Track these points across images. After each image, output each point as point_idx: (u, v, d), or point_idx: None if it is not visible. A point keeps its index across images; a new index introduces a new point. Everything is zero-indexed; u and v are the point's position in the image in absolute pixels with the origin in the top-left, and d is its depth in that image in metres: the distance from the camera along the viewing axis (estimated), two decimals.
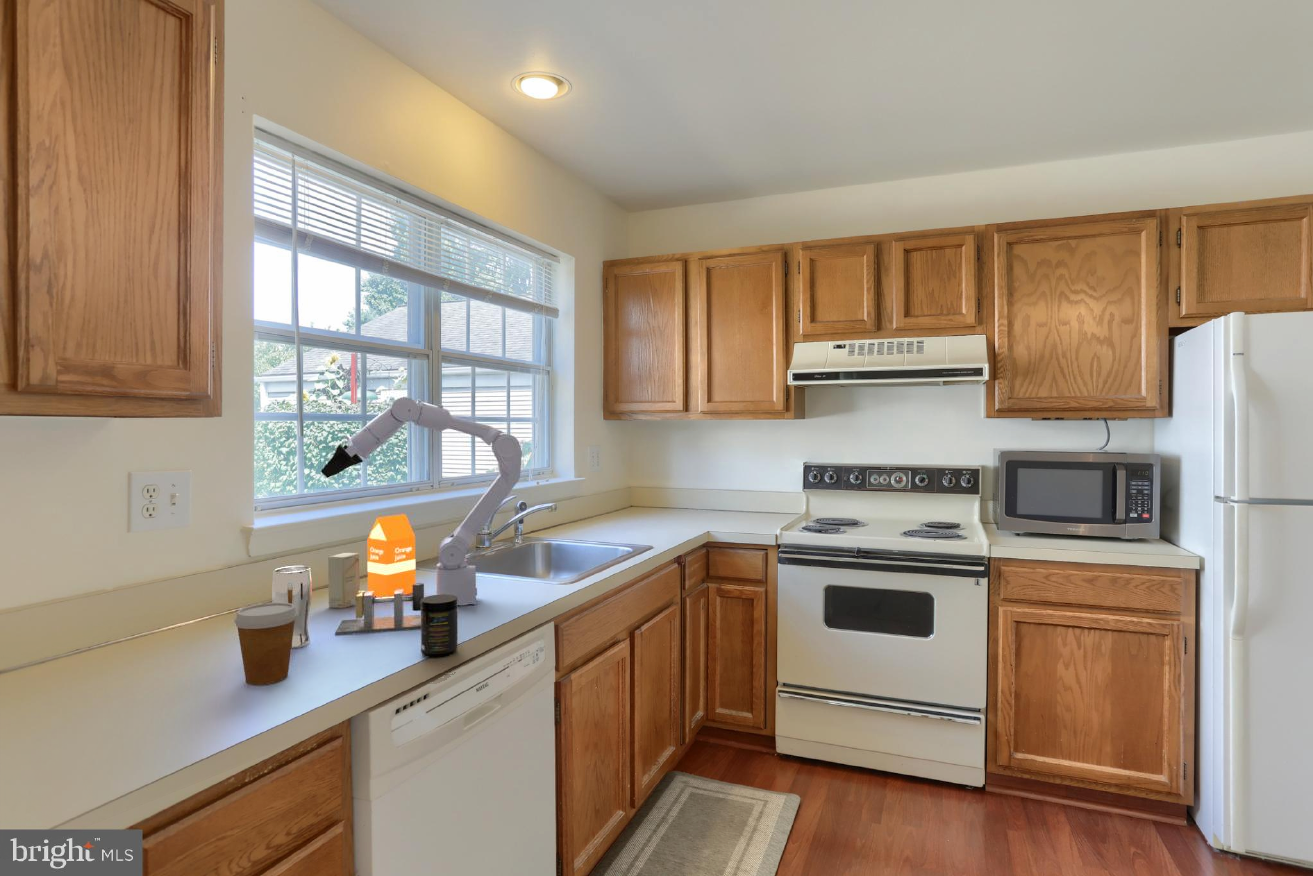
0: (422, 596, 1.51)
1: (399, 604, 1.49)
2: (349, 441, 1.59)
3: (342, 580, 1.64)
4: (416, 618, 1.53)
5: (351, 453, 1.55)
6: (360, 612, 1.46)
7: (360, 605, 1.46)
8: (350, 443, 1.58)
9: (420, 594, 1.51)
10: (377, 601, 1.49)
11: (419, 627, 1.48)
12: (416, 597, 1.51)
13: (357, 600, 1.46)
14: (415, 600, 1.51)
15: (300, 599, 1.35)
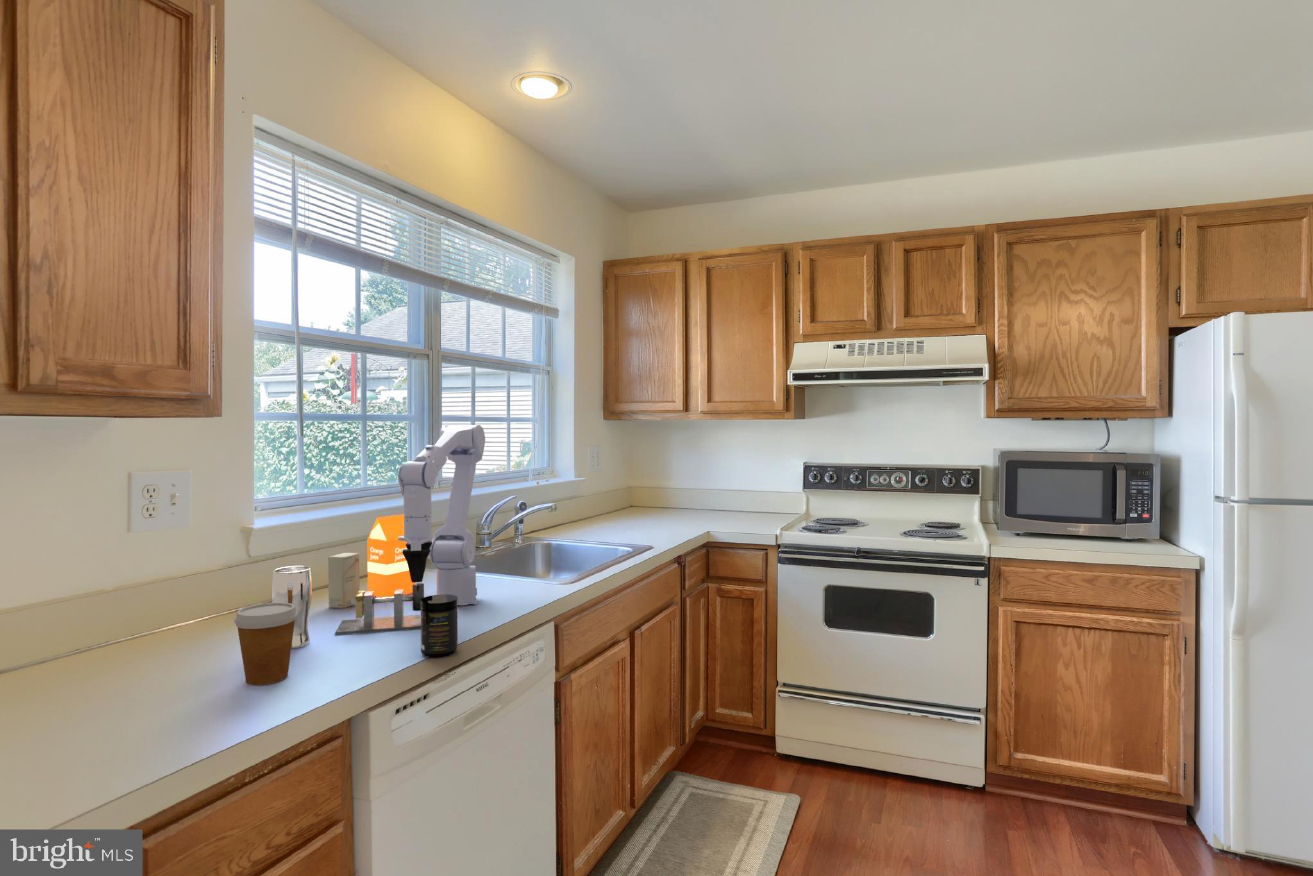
0: (422, 596, 1.51)
1: (399, 604, 1.49)
2: (406, 540, 1.48)
3: (342, 580, 1.64)
4: (416, 618, 1.53)
5: (418, 547, 1.45)
6: (360, 612, 1.46)
7: (360, 605, 1.46)
8: (408, 541, 1.47)
9: (420, 594, 1.51)
10: (377, 601, 1.49)
11: (419, 627, 1.48)
12: (416, 597, 1.51)
13: (357, 600, 1.46)
14: (415, 600, 1.51)
15: (300, 599, 1.35)
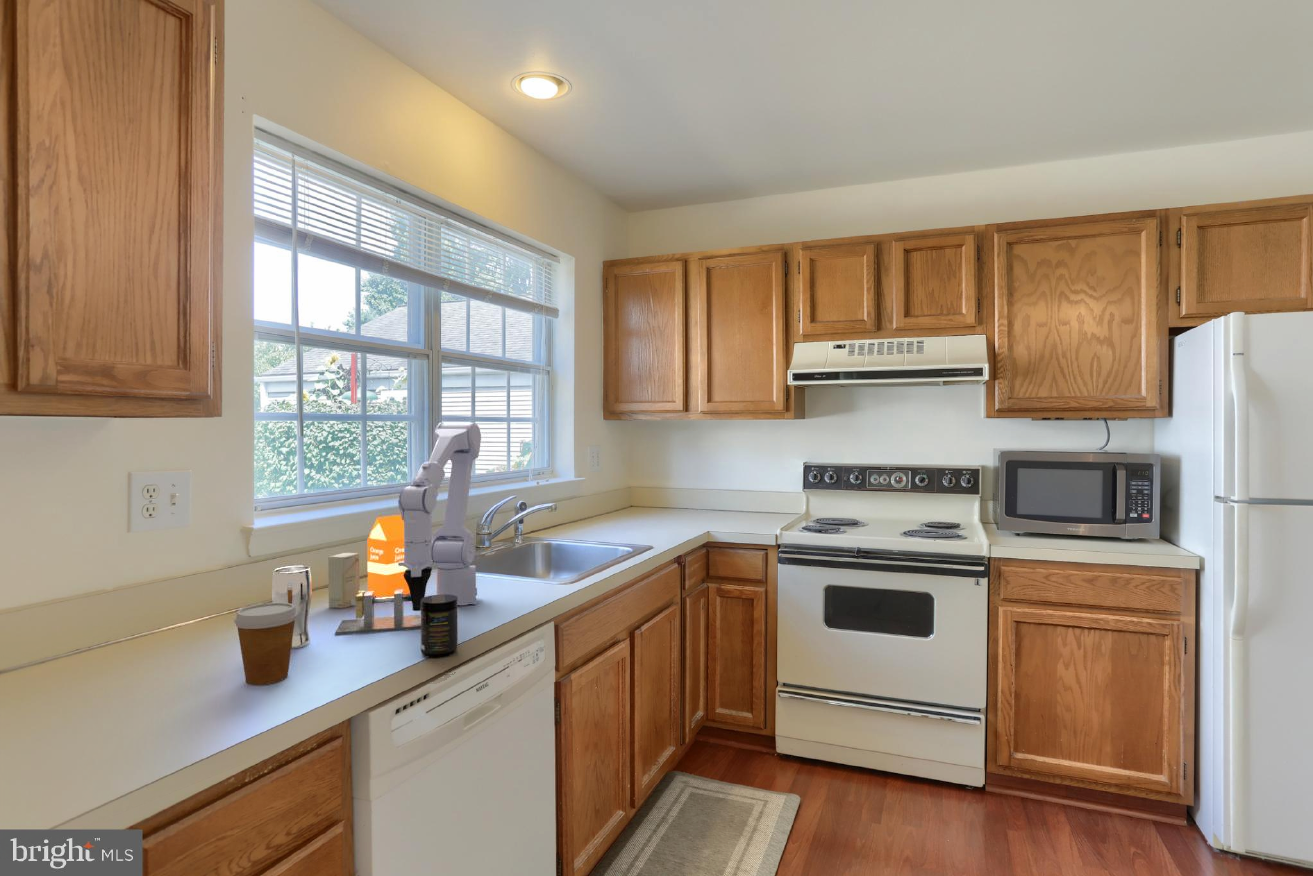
0: None
1: (399, 604, 1.49)
2: (406, 565, 1.48)
3: (342, 580, 1.64)
4: (416, 618, 1.53)
5: (418, 573, 1.45)
6: (360, 612, 1.46)
7: (360, 605, 1.46)
8: (408, 567, 1.47)
9: None
10: (377, 601, 1.49)
11: (419, 627, 1.48)
12: None
13: (357, 600, 1.46)
14: None
15: (300, 599, 1.35)
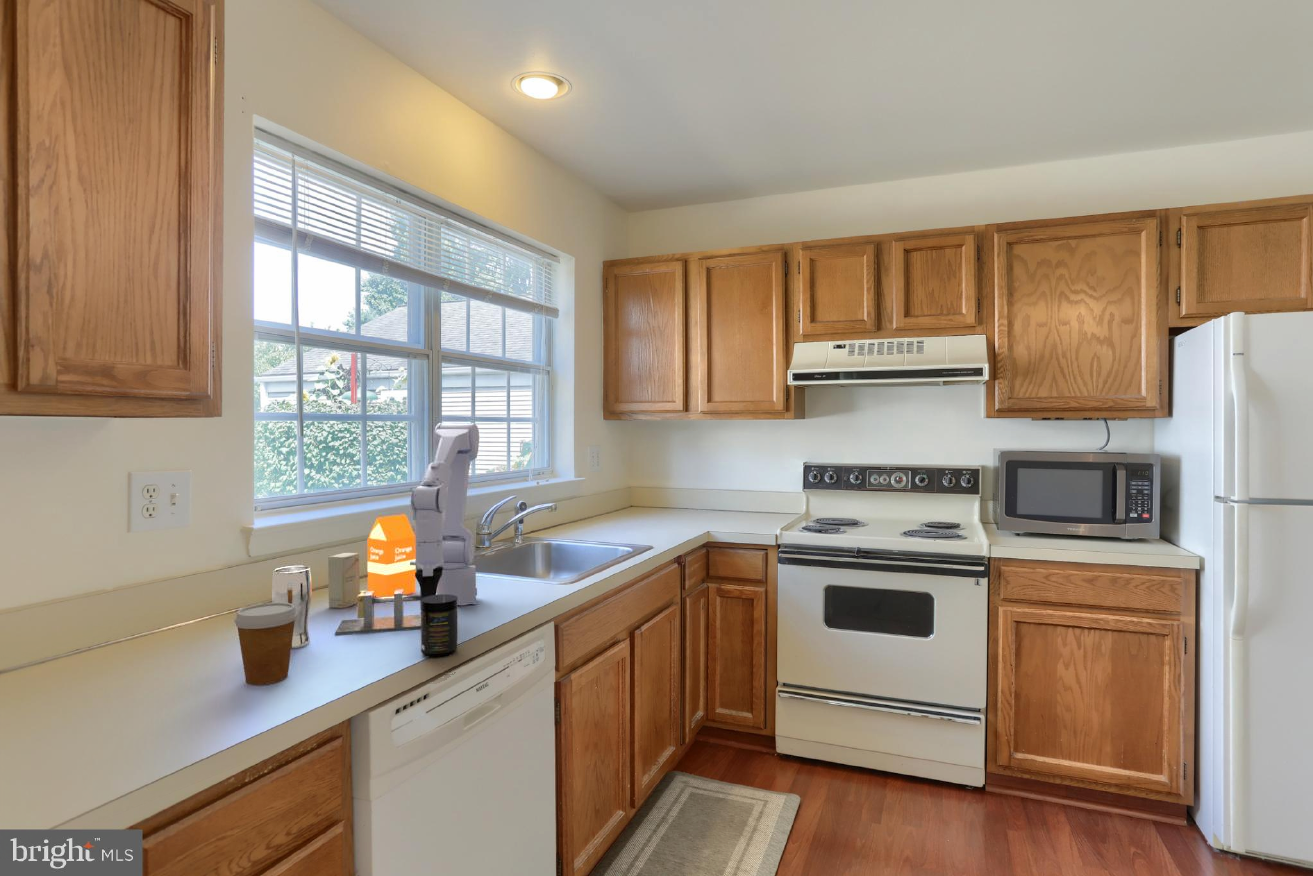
0: None
1: (399, 604, 1.49)
2: (418, 565, 1.49)
3: (342, 580, 1.64)
4: (416, 618, 1.53)
5: (430, 573, 1.45)
6: (361, 612, 1.46)
7: (361, 605, 1.46)
8: (420, 566, 1.47)
9: None
10: (385, 600, 1.49)
11: (419, 627, 1.48)
12: None
13: (358, 600, 1.46)
14: None
15: (300, 599, 1.35)
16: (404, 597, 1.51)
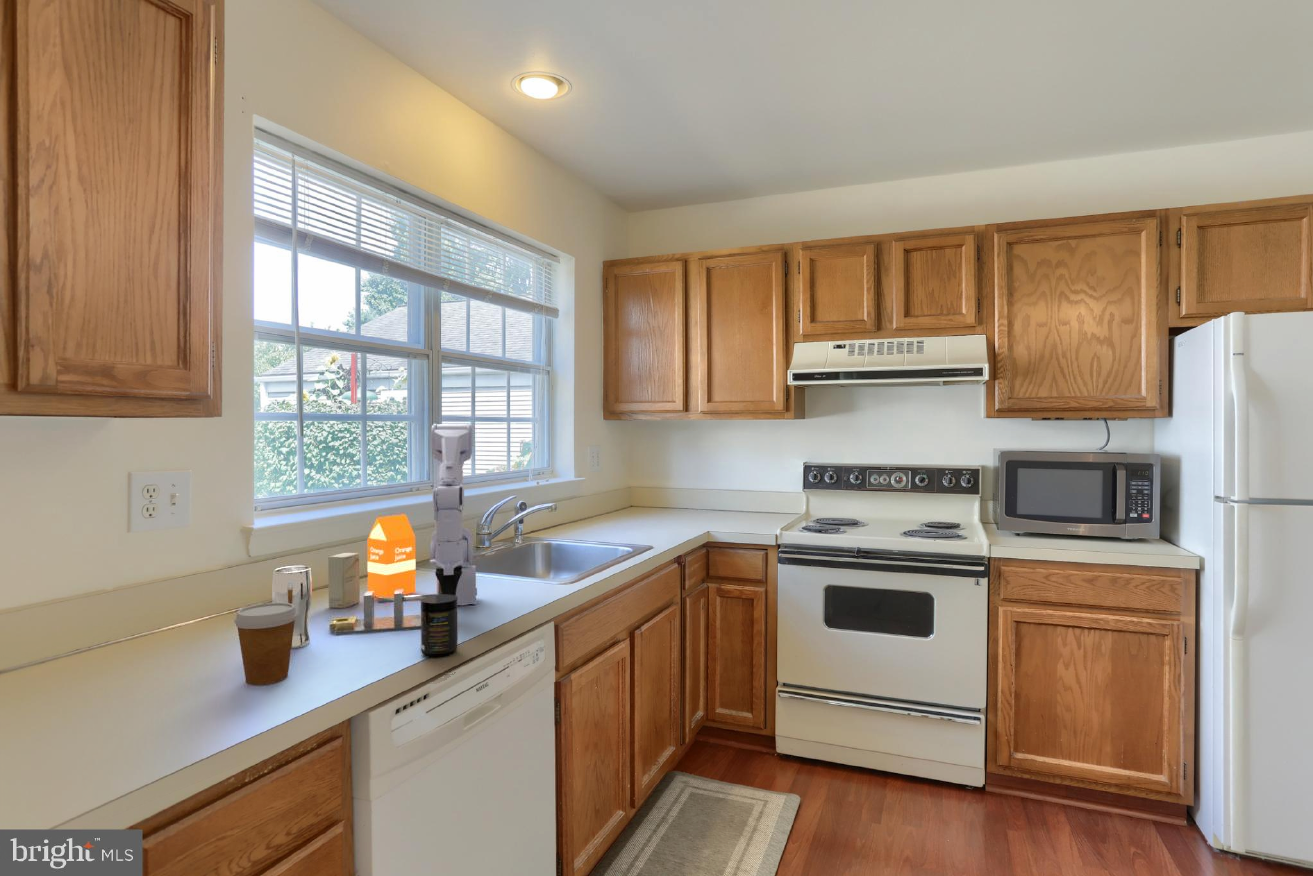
0: None
1: (399, 604, 1.49)
2: (438, 564, 1.50)
3: (342, 580, 1.64)
4: (416, 618, 1.53)
5: (450, 572, 1.47)
6: (347, 624, 1.46)
7: (339, 624, 1.45)
8: (441, 565, 1.49)
9: None
10: (404, 599, 1.50)
11: (419, 627, 1.48)
12: None
13: (334, 628, 1.45)
14: None
15: (300, 599, 1.35)
16: (422, 596, 1.52)
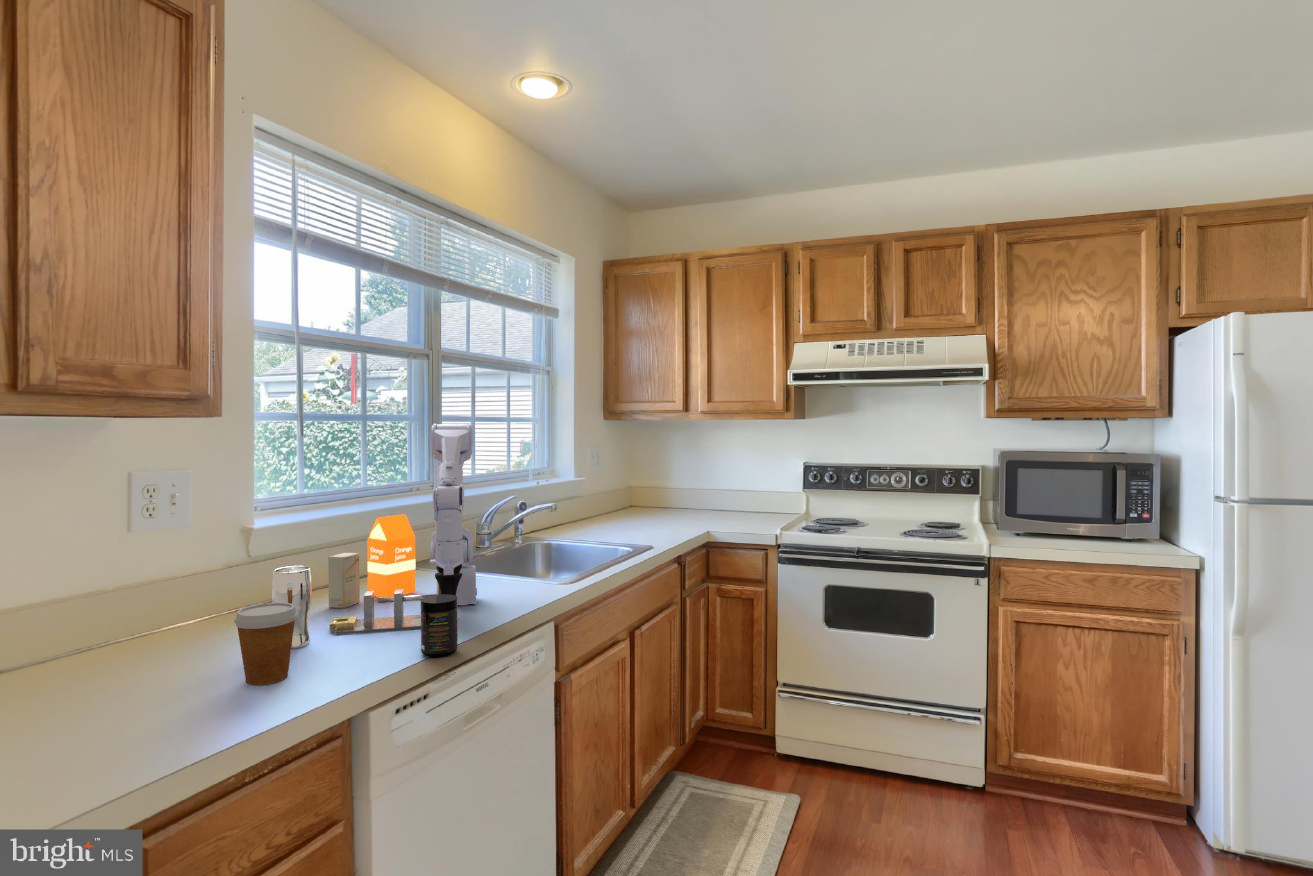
0: None
1: (399, 604, 1.49)
2: (438, 564, 1.50)
3: (342, 580, 1.64)
4: (416, 618, 1.53)
5: (450, 572, 1.47)
6: (347, 624, 1.46)
7: (339, 624, 1.45)
8: (441, 565, 1.49)
9: None
10: (404, 599, 1.50)
11: (419, 627, 1.48)
12: None
13: (334, 628, 1.45)
14: None
15: (300, 599, 1.35)
16: (422, 596, 1.52)
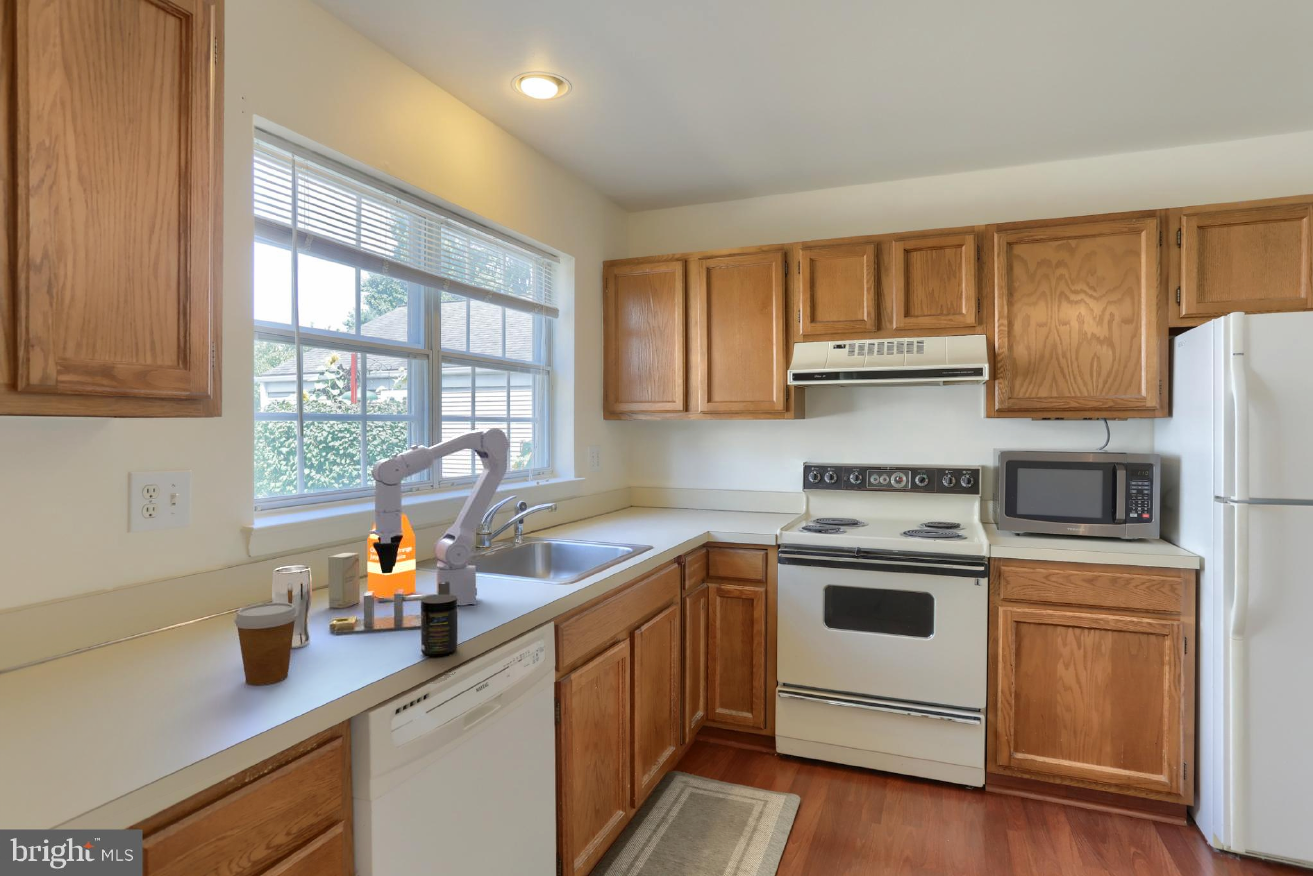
0: (448, 594, 1.53)
1: (399, 604, 1.49)
2: (377, 533, 1.57)
3: (342, 580, 1.64)
4: (416, 618, 1.53)
5: (387, 540, 1.53)
6: (347, 624, 1.46)
7: (339, 624, 1.45)
8: (379, 534, 1.55)
9: (446, 592, 1.52)
10: (404, 599, 1.50)
11: (419, 627, 1.48)
12: None
13: (334, 628, 1.45)
14: None
15: (300, 599, 1.35)
16: (422, 596, 1.52)
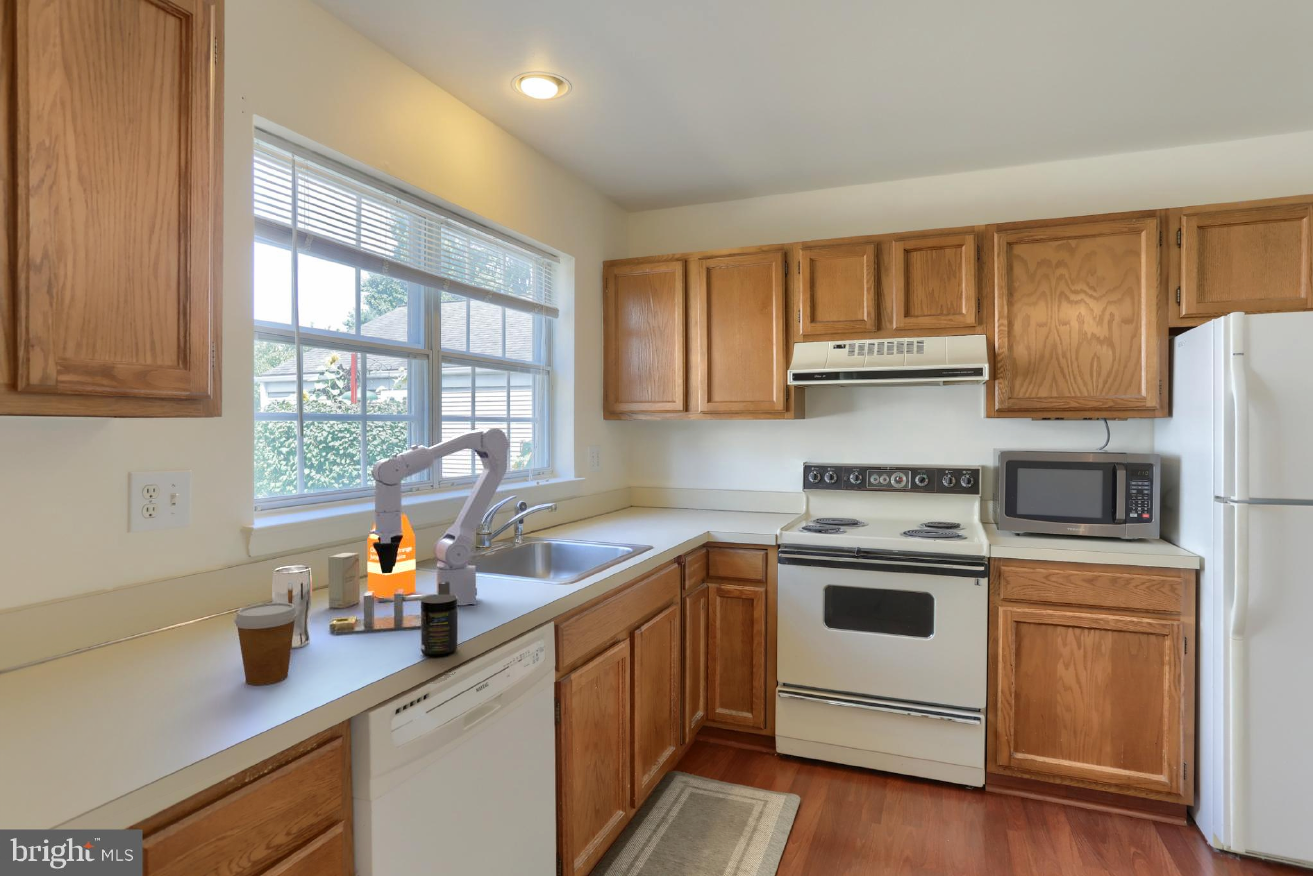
0: (448, 594, 1.53)
1: (399, 604, 1.49)
2: (377, 533, 1.57)
3: (342, 580, 1.64)
4: (416, 618, 1.53)
5: (387, 540, 1.53)
6: (347, 624, 1.46)
7: (339, 624, 1.45)
8: (379, 534, 1.55)
9: (446, 592, 1.52)
10: (404, 599, 1.50)
11: (419, 627, 1.48)
12: None
13: (334, 628, 1.45)
14: None
15: (300, 599, 1.35)
16: (422, 596, 1.52)
